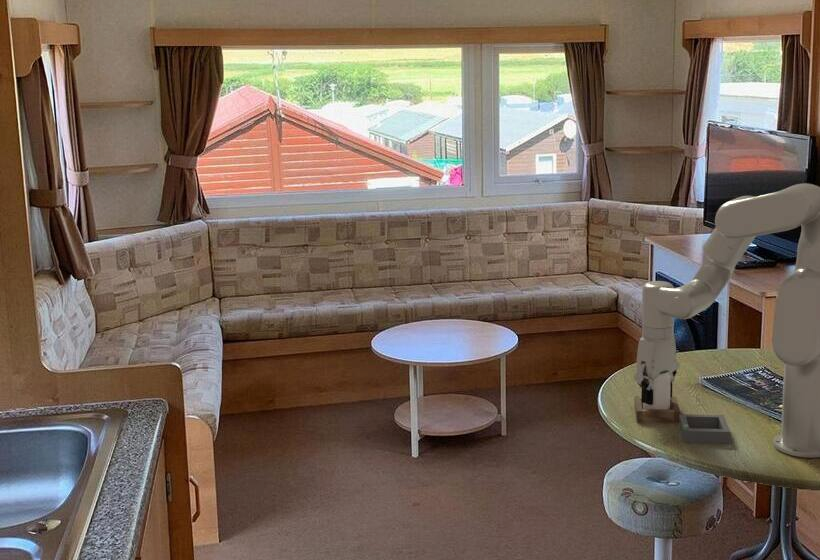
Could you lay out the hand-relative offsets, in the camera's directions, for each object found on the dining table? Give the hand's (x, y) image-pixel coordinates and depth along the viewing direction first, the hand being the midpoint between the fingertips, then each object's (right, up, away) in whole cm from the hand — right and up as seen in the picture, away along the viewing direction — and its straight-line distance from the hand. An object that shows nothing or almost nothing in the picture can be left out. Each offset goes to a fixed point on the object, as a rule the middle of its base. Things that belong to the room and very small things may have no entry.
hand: (656, 399), depth 237 cm
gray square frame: (+8, -7, -12) cm, 16 cm away
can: (0, -4, +1) cm, 4 cm away
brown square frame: (0, -4, +1) cm, 4 cm away
